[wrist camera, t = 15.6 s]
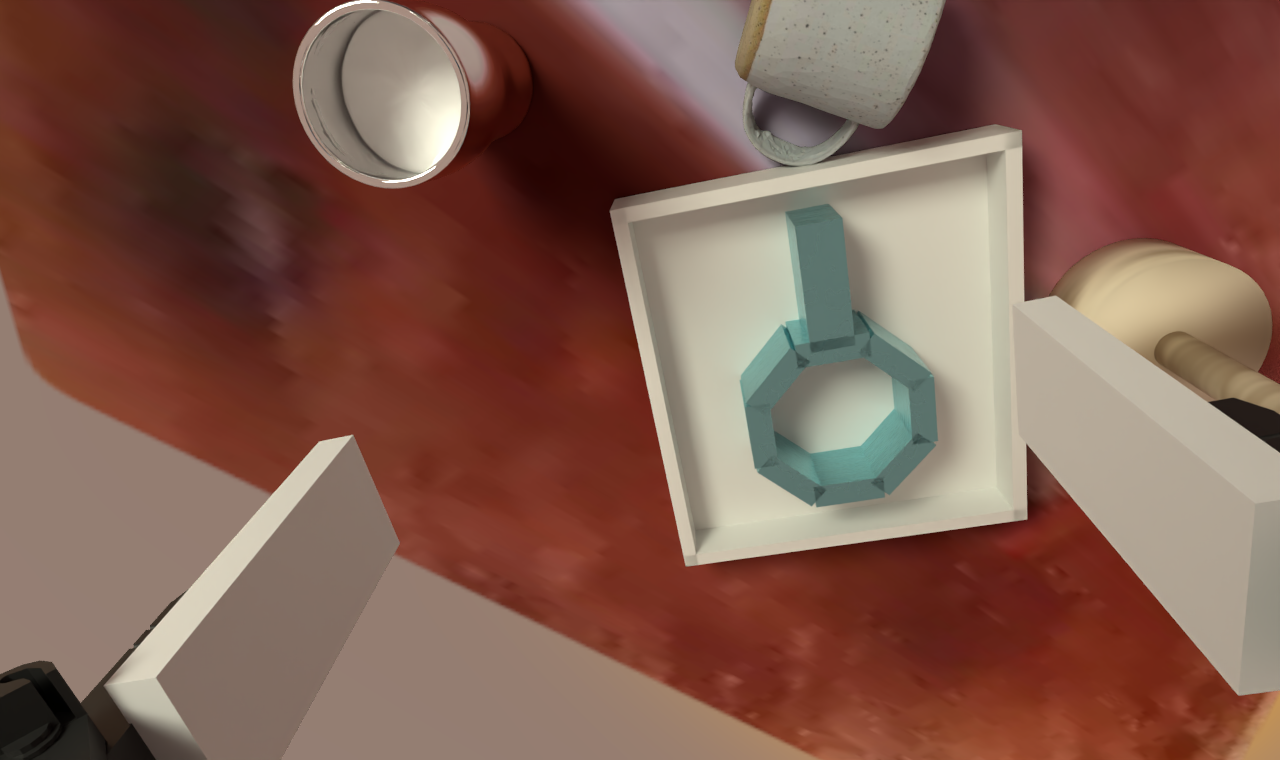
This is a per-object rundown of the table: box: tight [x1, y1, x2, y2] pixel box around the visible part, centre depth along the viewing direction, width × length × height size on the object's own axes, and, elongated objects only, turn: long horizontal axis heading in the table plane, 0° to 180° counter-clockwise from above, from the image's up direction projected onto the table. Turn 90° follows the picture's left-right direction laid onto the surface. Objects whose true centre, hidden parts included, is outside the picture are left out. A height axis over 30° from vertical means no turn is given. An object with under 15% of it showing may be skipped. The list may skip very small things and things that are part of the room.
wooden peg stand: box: [1049, 238, 1280, 414], centre depth 38 cm, size 10×10×17 cm
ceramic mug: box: [735, 0, 946, 166], centre depth 38 cm, size 11×8×8 cm
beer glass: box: [293, 0, 533, 188], centre depth 35 cm, size 7×7×15 cm
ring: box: [740, 204, 938, 507], centre depth 45 cm, size 17×10×4 cm, turn 11°
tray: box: [610, 124, 1027, 566], centre depth 46 cm, size 23×21×4 cm
